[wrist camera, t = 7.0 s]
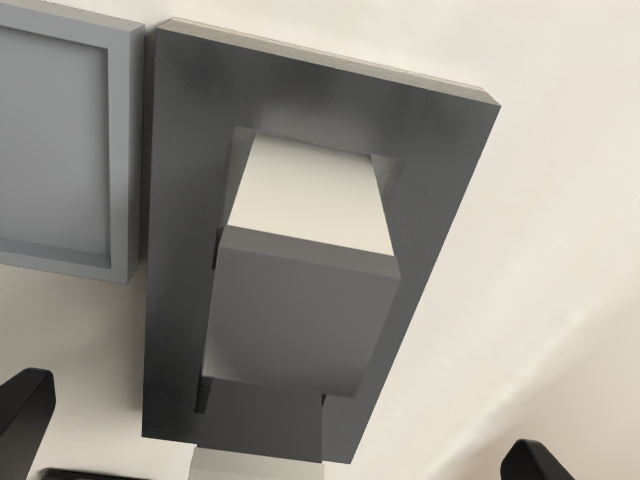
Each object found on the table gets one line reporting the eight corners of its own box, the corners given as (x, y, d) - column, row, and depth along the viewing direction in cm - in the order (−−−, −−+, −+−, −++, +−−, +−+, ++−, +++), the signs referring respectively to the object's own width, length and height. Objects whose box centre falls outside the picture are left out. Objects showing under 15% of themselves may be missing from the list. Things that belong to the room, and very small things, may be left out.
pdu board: (348, 428, 25) (350, 464, 24) (154, 401, 24) (141, 436, 22) (482, 87, 16) (501, 106, 14) (175, 17, 15) (156, 27, 13)
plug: (343, 252, 19) (354, 399, 13) (239, 233, 18) (201, 375, 12) (372, 157, 17) (401, 279, 11) (255, 132, 16) (218, 246, 10)
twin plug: (303, 390, 23) (298, 550, 17) (217, 378, 22) (180, 537, 16) (322, 327, 21) (323, 484, 15) (227, 312, 20) (189, 468, 14)
